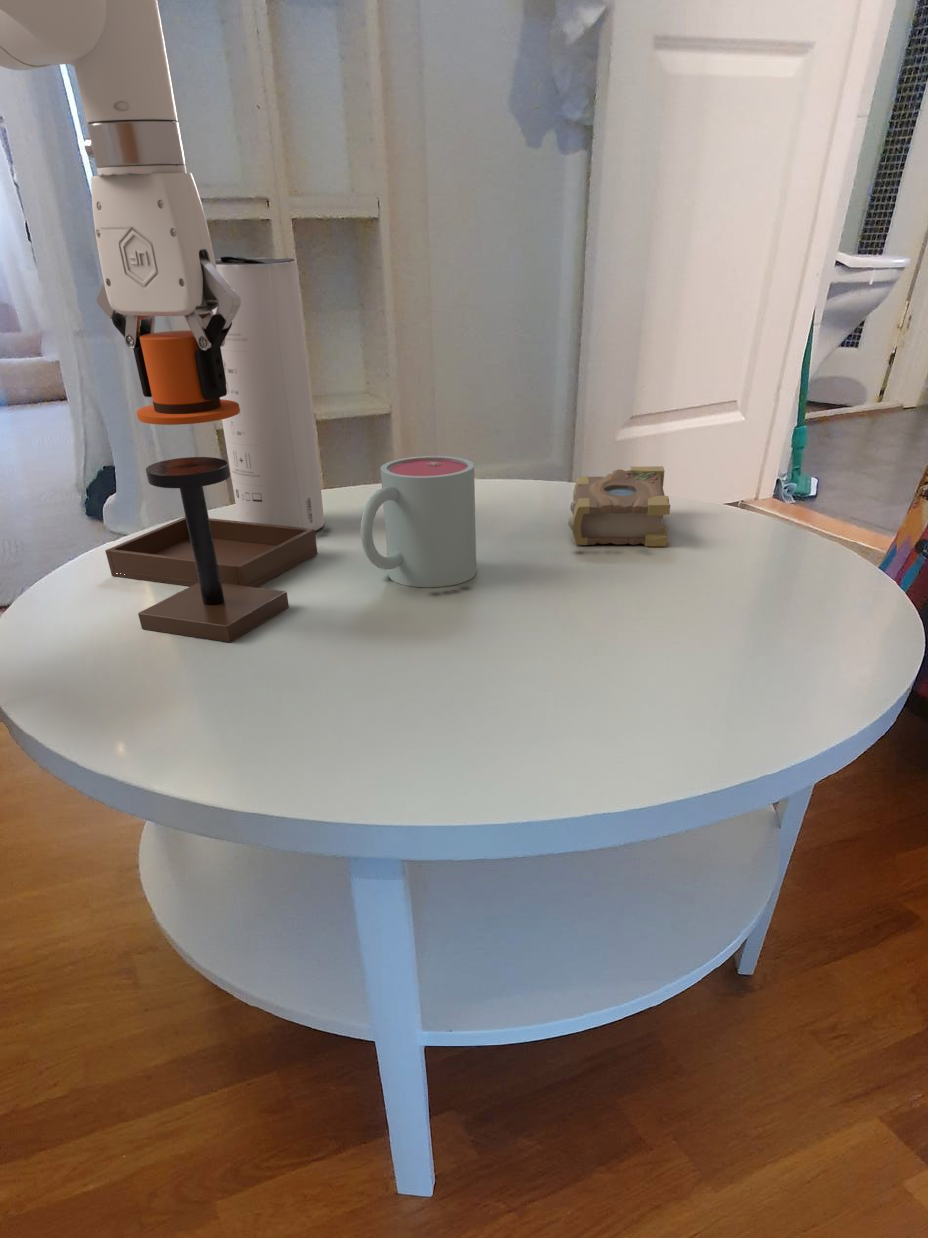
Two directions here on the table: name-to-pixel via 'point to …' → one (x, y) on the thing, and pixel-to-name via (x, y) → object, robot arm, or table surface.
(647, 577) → the table surface
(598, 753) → the table surface
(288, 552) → the tray
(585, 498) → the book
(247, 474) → the white cylindrical canister
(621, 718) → the table surface
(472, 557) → the mug
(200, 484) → the hat stand
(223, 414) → the hat
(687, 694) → the table surface
